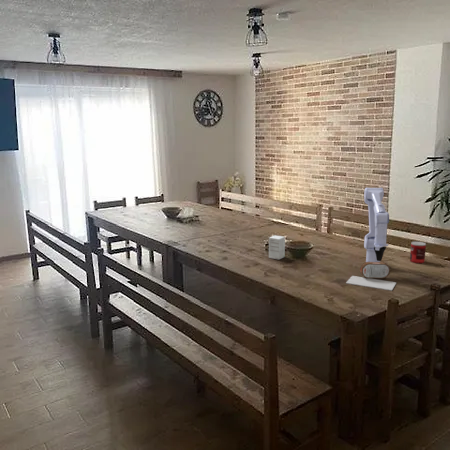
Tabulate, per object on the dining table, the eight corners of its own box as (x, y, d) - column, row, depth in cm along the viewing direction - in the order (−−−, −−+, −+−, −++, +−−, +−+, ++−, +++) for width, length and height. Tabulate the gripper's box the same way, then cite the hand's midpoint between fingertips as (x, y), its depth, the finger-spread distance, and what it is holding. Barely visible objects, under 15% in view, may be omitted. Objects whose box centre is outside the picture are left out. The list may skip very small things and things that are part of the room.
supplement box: (274, 255, 277) (274, 235, 274) (285, 256, 273) (285, 236, 270) (268, 257, 271) (268, 237, 268) (279, 259, 267) (279, 239, 264)
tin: (387, 277, 234) (389, 261, 233) (390, 279, 231) (391, 263, 230) (359, 277, 233) (360, 261, 232) (361, 278, 230) (362, 262, 229)
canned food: (413, 258, 266) (414, 240, 263) (426, 261, 260) (428, 243, 258) (407, 261, 261) (408, 243, 258) (421, 264, 255) (422, 245, 253)
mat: (352, 276, 236) (352, 275, 236) (396, 283, 225) (396, 282, 225) (345, 283, 226) (345, 282, 226) (391, 290, 215) (391, 289, 215)
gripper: (386, 239, 227) (384, 265, 230) (391, 233, 240) (389, 258, 242) (371, 237, 231) (370, 263, 234) (377, 232, 243) (376, 256, 246)
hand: (379, 260), depth 238 cm, fingers closed
